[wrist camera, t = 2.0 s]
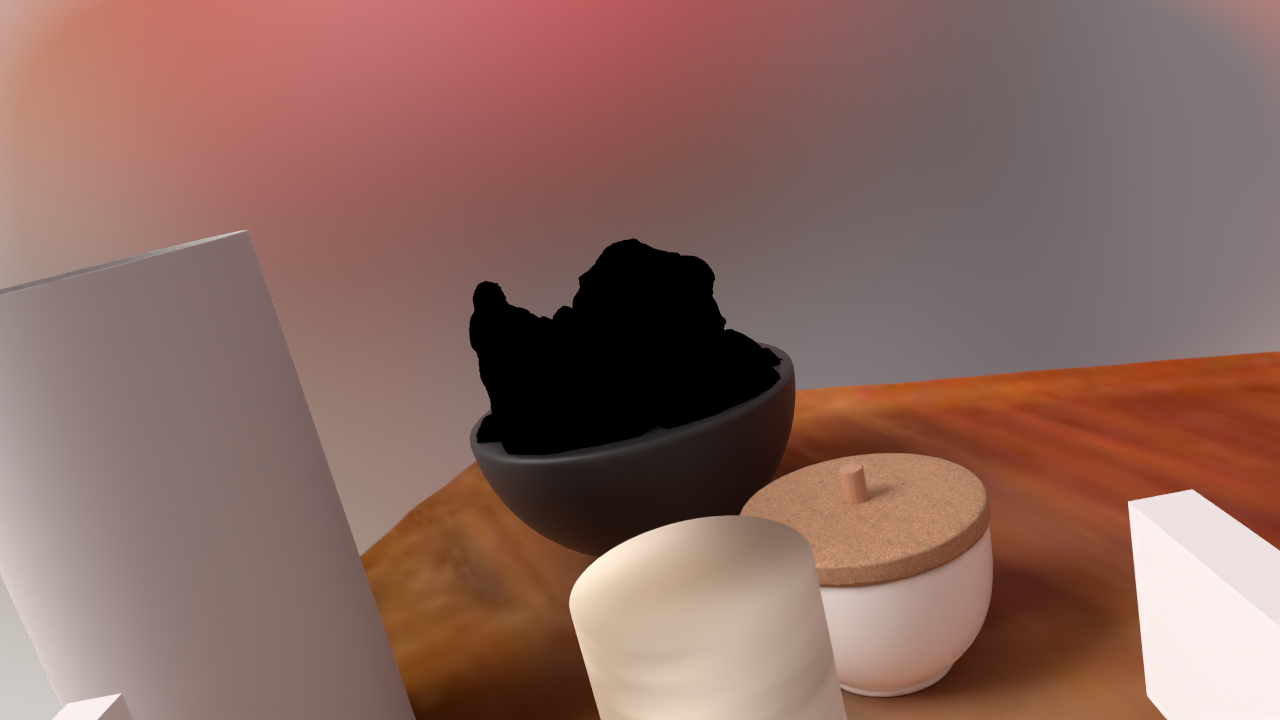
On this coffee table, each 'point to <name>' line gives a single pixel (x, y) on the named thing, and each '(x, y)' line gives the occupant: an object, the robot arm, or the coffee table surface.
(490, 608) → the coffee table surface
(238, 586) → the cylinder vase
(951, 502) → the lidded jar
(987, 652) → the coffee table surface
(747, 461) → the coal bowl
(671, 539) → the ash peg
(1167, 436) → the coffee table surface
